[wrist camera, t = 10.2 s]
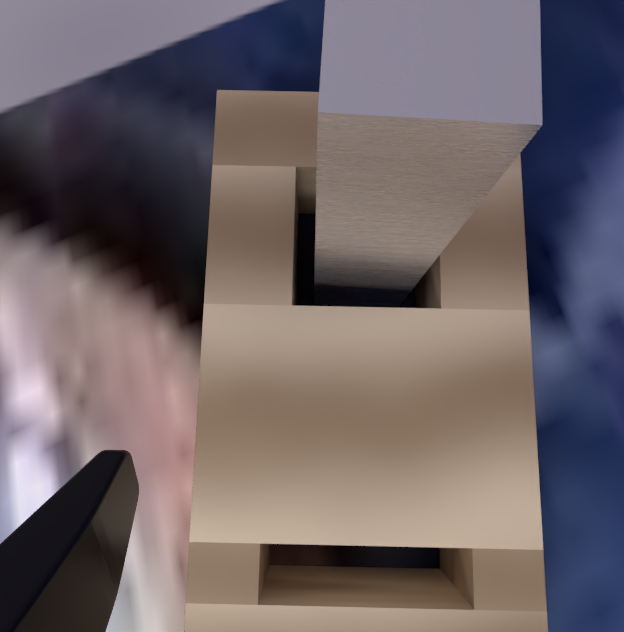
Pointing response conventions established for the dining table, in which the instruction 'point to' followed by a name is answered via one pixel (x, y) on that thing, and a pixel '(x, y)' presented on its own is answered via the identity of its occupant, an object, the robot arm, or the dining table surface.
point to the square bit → (414, 133)
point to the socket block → (358, 412)
